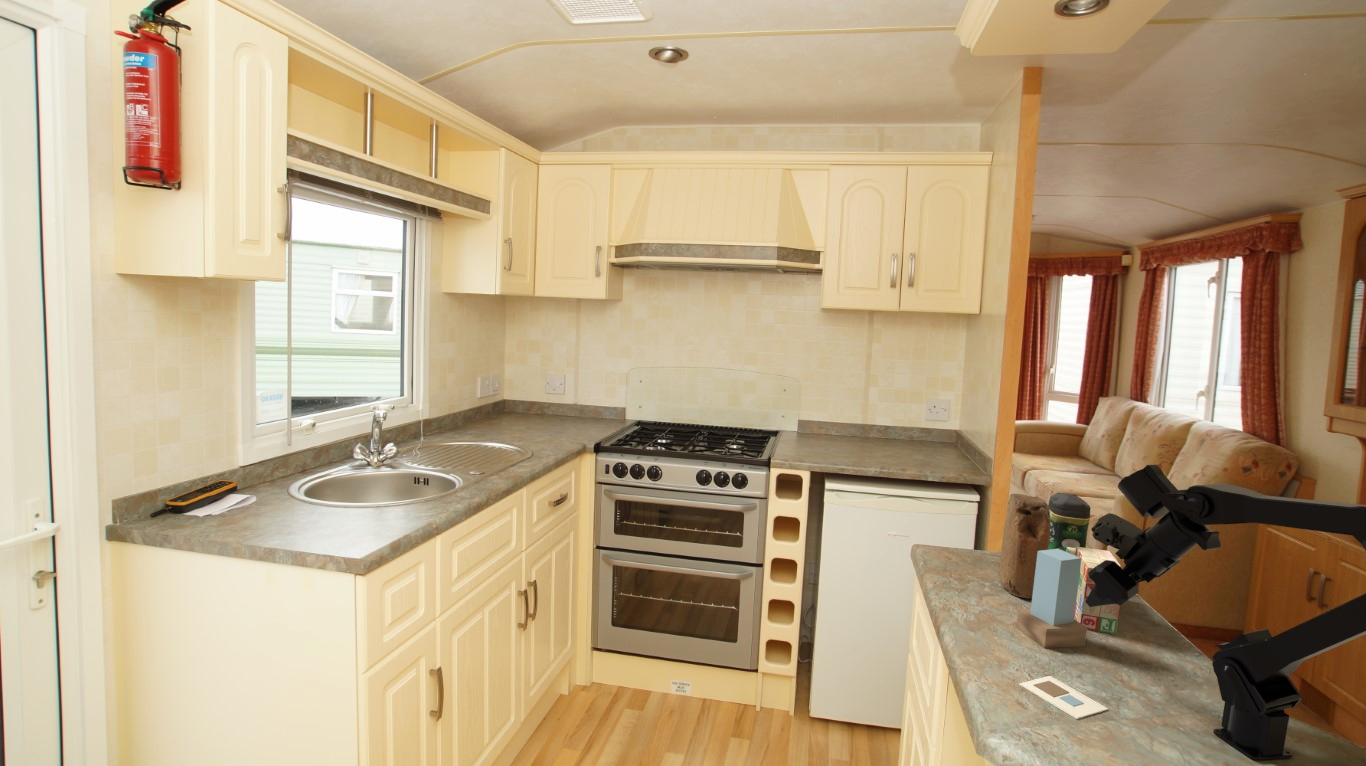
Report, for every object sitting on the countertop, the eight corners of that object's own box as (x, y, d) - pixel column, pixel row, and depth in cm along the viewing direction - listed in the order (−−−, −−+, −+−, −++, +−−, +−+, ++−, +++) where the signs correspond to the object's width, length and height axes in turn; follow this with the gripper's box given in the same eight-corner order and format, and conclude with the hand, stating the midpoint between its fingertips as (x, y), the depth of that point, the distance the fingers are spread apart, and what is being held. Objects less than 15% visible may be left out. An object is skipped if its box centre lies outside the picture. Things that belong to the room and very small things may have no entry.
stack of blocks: (1060, 587, 157) (1067, 532, 156) (1093, 593, 155) (1100, 537, 154) (1079, 629, 137) (1087, 566, 136) (1117, 635, 135) (1125, 571, 134)
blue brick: (1073, 622, 131) (1081, 558, 130) (1053, 625, 129) (1061, 560, 128) (1050, 610, 136) (1057, 548, 134) (1030, 613, 134) (1037, 550, 132)
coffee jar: (1037, 566, 169) (1046, 488, 167) (1074, 571, 167) (1084, 492, 165) (1045, 581, 160) (1055, 499, 158) (1085, 587, 158) (1096, 504, 156)
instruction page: (1108, 709, 109) (1108, 707, 109) (1076, 719, 106) (1076, 717, 106) (1049, 676, 118) (1049, 675, 118) (1019, 684, 115) (1019, 682, 115)
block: (996, 578, 160) (1006, 490, 158) (1033, 583, 158) (1043, 494, 156) (1006, 598, 150) (1016, 503, 147) (1045, 603, 148) (1057, 507, 145)
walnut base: (1084, 646, 130) (1087, 627, 129) (1044, 647, 128) (1046, 628, 128) (1054, 625, 138) (1056, 608, 137) (1016, 626, 136) (1018, 609, 136)
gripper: (1150, 486, 123) (1091, 540, 133) (1094, 518, 112) (1034, 573, 122) (1209, 539, 117) (1143, 590, 127) (1155, 577, 106) (1088, 630, 116)
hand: (1101, 594), depth 123 cm, fingers open, 9 cm apart
